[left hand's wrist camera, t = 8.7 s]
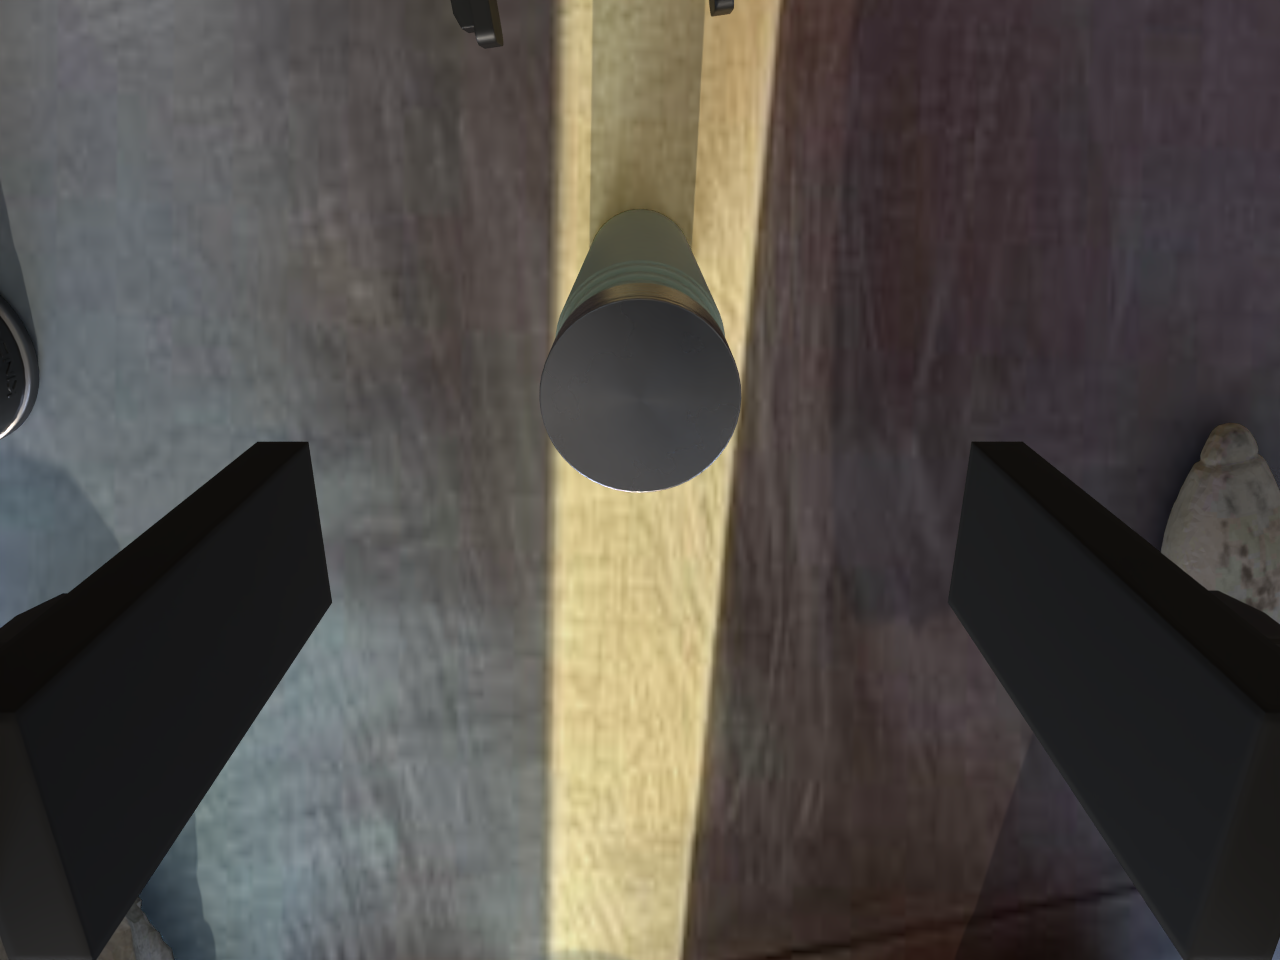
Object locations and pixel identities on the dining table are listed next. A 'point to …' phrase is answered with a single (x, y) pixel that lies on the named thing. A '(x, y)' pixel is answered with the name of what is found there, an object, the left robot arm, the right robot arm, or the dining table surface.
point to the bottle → (640, 261)
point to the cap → (640, 388)
